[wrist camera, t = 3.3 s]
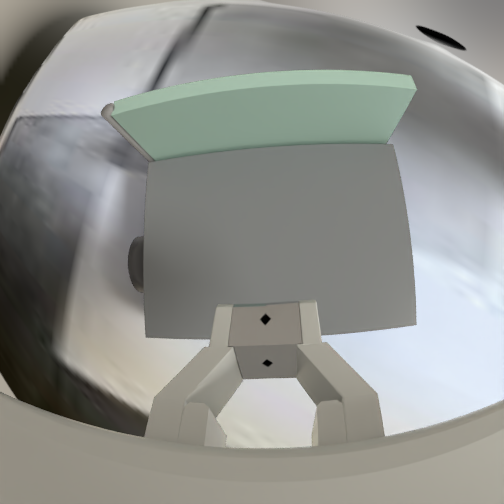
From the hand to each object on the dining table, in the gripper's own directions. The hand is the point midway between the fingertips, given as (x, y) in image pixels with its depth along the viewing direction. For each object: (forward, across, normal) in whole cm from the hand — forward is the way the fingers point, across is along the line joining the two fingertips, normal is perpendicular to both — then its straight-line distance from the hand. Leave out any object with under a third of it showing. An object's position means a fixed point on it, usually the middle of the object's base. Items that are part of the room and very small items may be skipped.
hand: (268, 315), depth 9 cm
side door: (+22, 0, +3) cm, 22 cm away
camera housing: (+16, 0, +9) cm, 19 cm away
